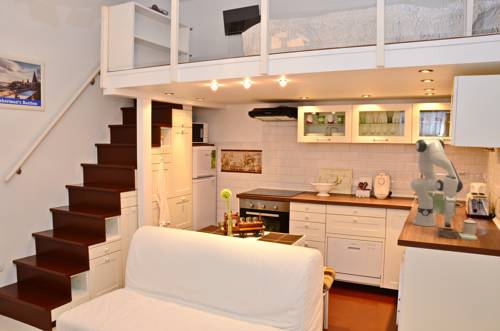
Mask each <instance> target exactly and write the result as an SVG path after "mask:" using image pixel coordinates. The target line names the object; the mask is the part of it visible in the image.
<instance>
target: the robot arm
mask: <svg viewBox="0 0 500 331" xmlns="http://www.w3.org/2000/svg"><path fill="white" fill-rule="evenodd" d="M414 145H415V147H414V148H415V151H417V152H418V171H419V173H420V174H422V175H423V176H424V177H422V178H415V179H414V178H413V179H412V180H411V182H410V188H411V189H412V190H413V192H415V194H416V196H417V199H418V200H417V203H418V204H417V205H418V206H417V208H416V209H417V210H416V211H417V212H416V213H415V214H414V220H413V221H412V222H411V224H412V225H417V226H420V227H421V226H422V227H438V224H437V223H436V216H435V214H433V199H432V198H431V197H430V196H428V194H427V192H431V193H432V192H434V191H436V192H440V191H441V193H442V192H443V200H445V208H446V210H447V212H448V215H447V217H449V218H450V215H451V213H453V211H454V205H455V206H456V201H457V194H458V193H460V192H461V191H462V190H463V188H464V185H463V182H462V180H461V179H460V177H459V175H458V173H457V169H456V168H455V166H454V164H453V162H452V161H451V160H450V159H449V158H448V157H447V155H446V152H445V150H444V149H445V142H444V140H442V139H440V138H429V139H428V138H427V139H418V140H416V142H415V144H414ZM434 166H436V167H439V168H441V169H444V171H445V170H446V172H447V173H448V174H447V175H445V177H444V178H439V177H437V175H436V173H435V170H434Z"/></svg>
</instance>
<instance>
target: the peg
mask: <svg viewBox="0 0 500 331" xmlns="http://www.w3.org/2000/svg"><path fill="white" fill-rule="evenodd" d="M447 215H448V212H447V211H446V212H445V215H444V227H443V228H452V221H453V220H452V218H453V215H452V213H451V215H450V218H449V217H447Z"/></svg>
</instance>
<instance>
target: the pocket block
mask: <svg viewBox="0 0 500 331" xmlns="http://www.w3.org/2000/svg"><path fill="white" fill-rule="evenodd" d="M437 235H438V237H439V238H444V239H452V240H458V239H459V231H458V229H457V228H452V227H450V228H448V227H442V226H441V227H440V226H437Z"/></svg>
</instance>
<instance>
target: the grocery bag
mask: <svg viewBox="0 0 500 331" xmlns="http://www.w3.org/2000/svg"><path fill="white" fill-rule="evenodd" d="M436 192H437V191H434V192H432V191H427V194H428V196H430V197H431V198H432V199H433V214H434V215H440V214H443V215H442V216H445V212H446V211H447V210H446V208H445V200H443V192H441V191H439V192H441V193H438V192H437V193H436ZM456 211H457V210H456V204H455V205H454V211H453V213H452V216H453V215H456V216H457V212H456Z"/></svg>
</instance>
